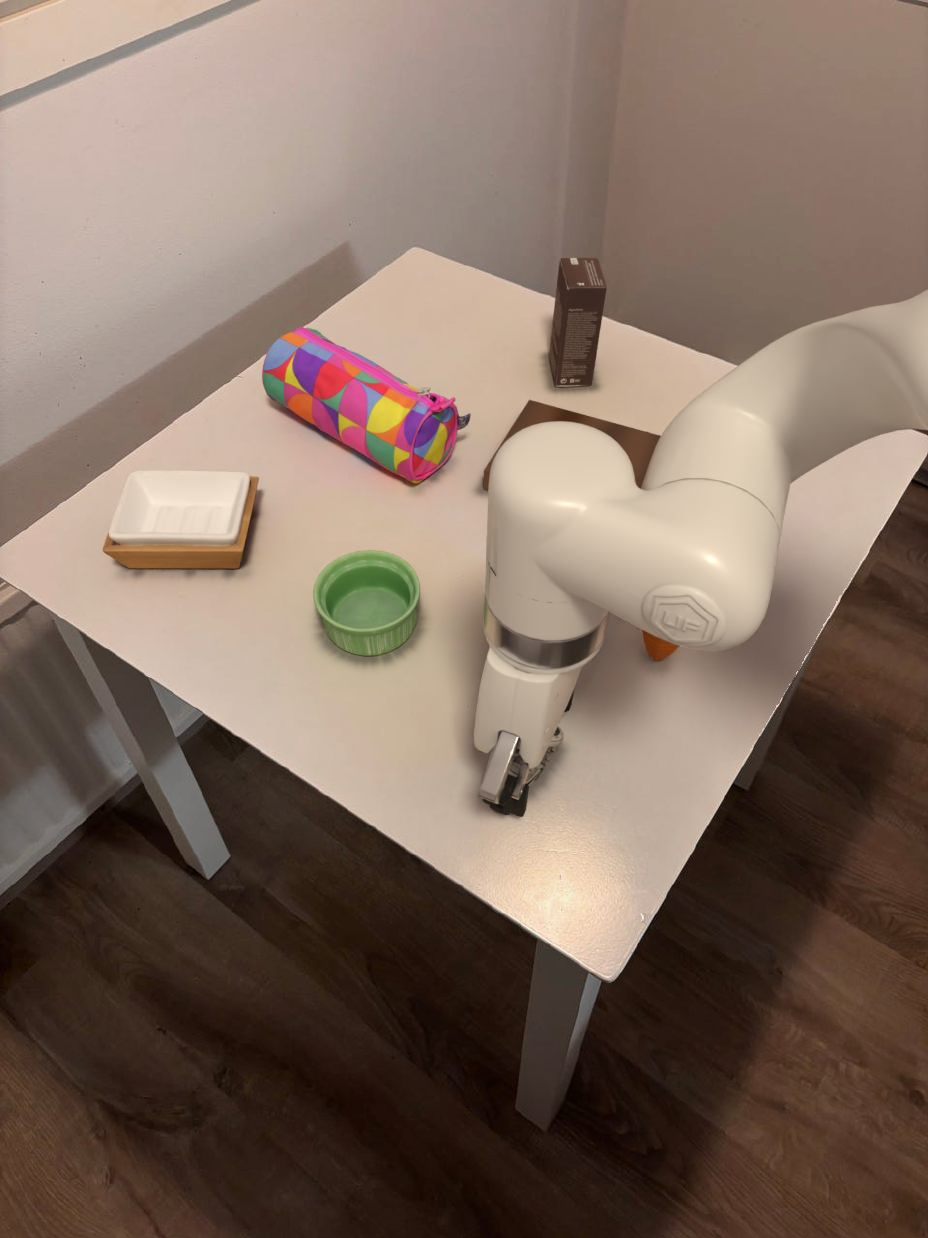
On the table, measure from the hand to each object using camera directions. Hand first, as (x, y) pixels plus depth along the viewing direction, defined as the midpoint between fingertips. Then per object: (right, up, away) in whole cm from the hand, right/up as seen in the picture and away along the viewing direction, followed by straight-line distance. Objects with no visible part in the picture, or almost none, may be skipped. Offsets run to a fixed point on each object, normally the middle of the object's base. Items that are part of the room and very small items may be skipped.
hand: (528, 753), depth 68 cm
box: (+7, +38, +33) cm, 51 cm away
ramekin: (-13, +10, +11) cm, 20 cm away
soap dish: (-30, +17, +17) cm, 39 cm away
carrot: (+11, +7, +8) cm, 16 cm away
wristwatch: (0, -2, +2) cm, 2 cm away
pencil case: (-15, +29, +27) cm, 42 cm away
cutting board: (+9, +24, +22) cm, 34 cm away
